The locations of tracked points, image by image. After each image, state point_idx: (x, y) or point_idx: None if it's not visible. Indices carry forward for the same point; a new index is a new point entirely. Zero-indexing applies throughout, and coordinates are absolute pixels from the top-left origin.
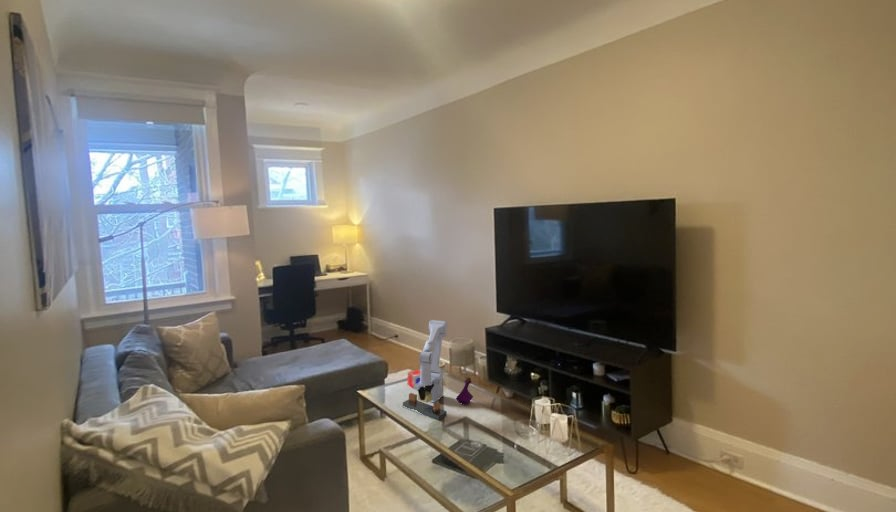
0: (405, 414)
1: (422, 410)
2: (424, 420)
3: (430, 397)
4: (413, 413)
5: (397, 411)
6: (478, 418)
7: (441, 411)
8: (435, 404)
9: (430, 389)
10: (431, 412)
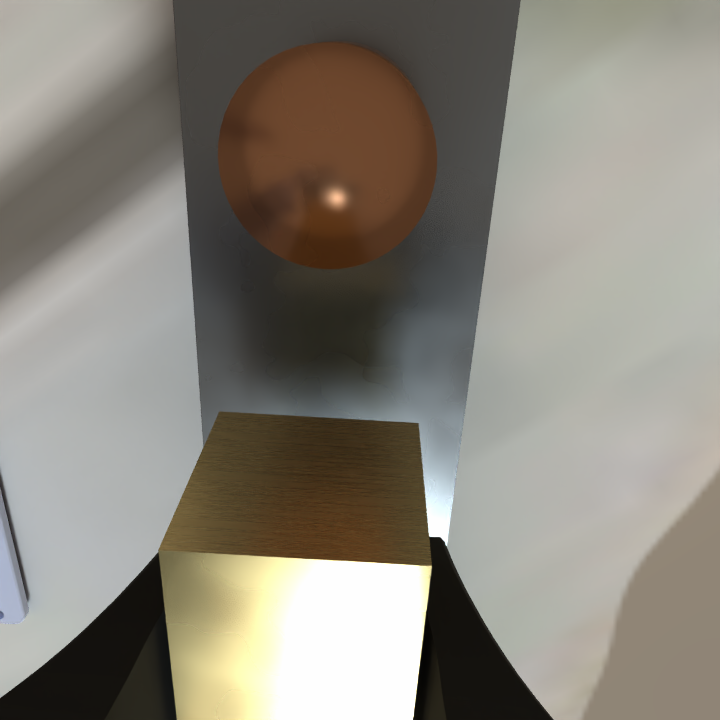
0: (596, 546)
1: (464, 396)
2: (636, 207)
3: (259, 473)
4: (503, 481)
5: (572, 657)
6: None
7: (269, 23)
8: (377, 184)
9: (115, 706)
10: (455, 198)
